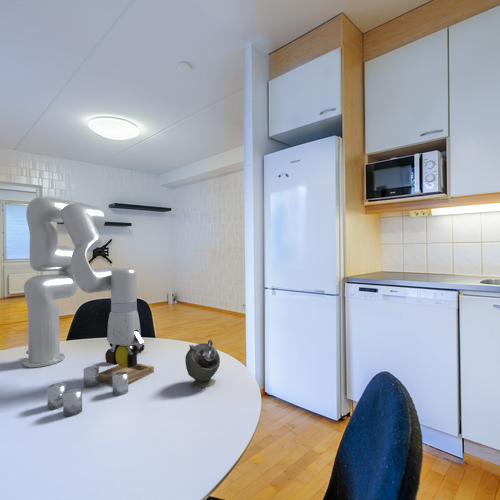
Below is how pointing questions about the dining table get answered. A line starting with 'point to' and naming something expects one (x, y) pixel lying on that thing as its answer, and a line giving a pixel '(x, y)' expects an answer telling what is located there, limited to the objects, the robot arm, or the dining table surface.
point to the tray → (133, 372)
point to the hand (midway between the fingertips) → (125, 364)
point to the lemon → (122, 356)
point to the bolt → (110, 354)
